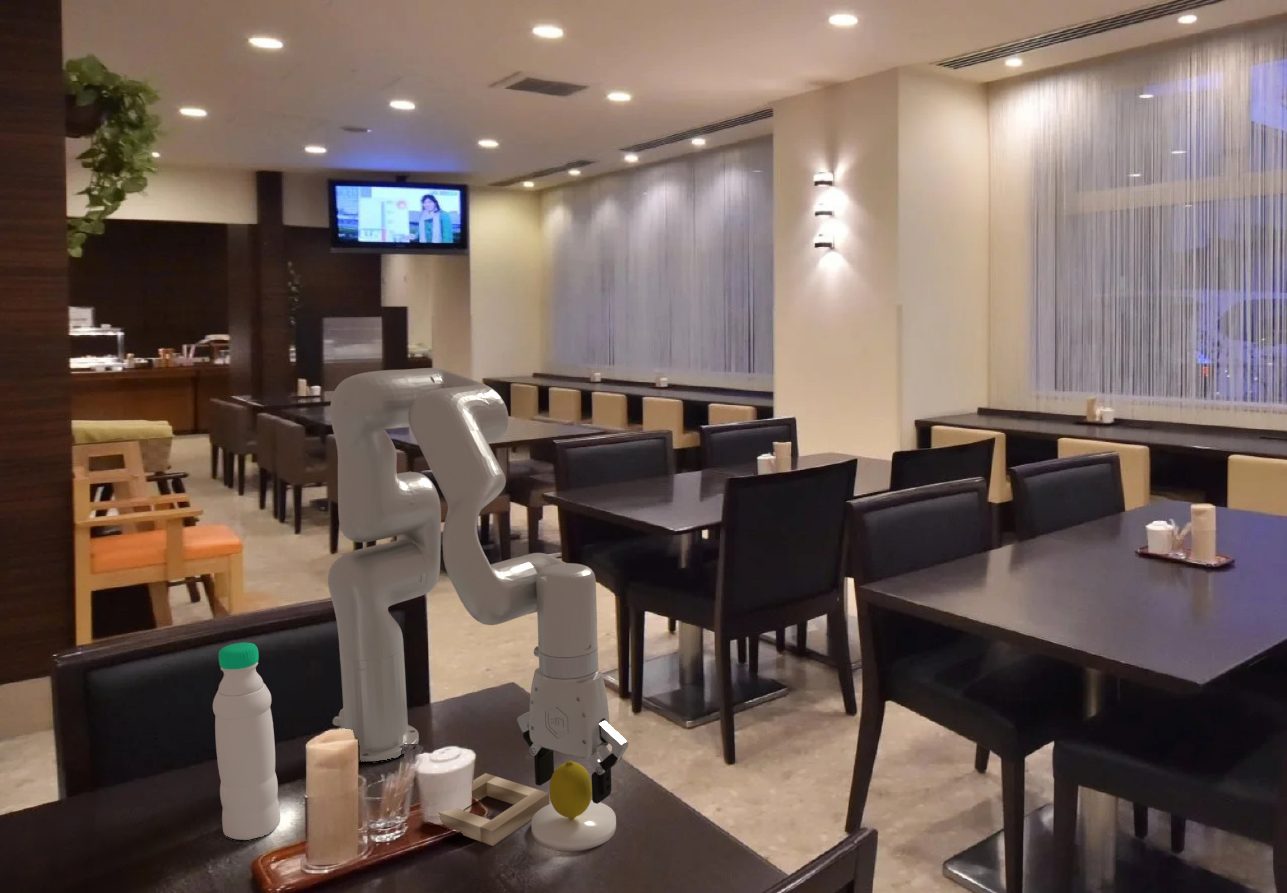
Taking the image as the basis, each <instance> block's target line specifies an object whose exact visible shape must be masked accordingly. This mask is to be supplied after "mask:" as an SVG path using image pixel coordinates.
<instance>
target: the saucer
mask: <svg viewBox="0 0 1287 893" xmlns="http://www.w3.org/2000/svg"><path fill="white" fill-rule="evenodd" d="M530 822H531V823H530V824H531V836H532V838H533V839H534V841H535V842H537V843H538V844H539V845H540V846H542V847H545V848H547V849H551V850H553V849H555V850H554V851H559V852H579V851H586V850H589V849H590V850H591V849H593V848H597V847H598V846H601V845H603V844H605V843H607V842H608V841H609V840H610V839H612V837H613V836H614V835H615V833H616V830H617V816H616V813H615V811H614V810H613V809H612V808H611V807H610V806H609V805H607V804H605V803H604V802H602V801H601V802H600V803H598V804H596V803H593V801H592V799H591V802H590V804H589V806H588V808H587V809H586V811H584V812H583V813H582V814H581V815H579V816H576V817H575V818H574V819H573V820H570V819H569V818H568V817H564V816H562V815H560V814H559V813H558V812H557V811H556V810H555V809H554V807H553V806H552V803H551V802H550V803H549V805H547V806H545V807H543V808H541V809H540V810H539V811H537V812H536V813H535V815H534V816H533V818H532V819H531V820H530Z"/></svg>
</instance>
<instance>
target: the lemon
mask: <svg viewBox="0 0 1287 893" xmlns="http://www.w3.org/2000/svg"><path fill="white" fill-rule="evenodd" d="M549 781H550V782H549V790H548V791H549V792H548V793H549V801H550V804H551V803H552V806H553V807H554V809H555V810H556V811H557V812H558V813H559V814H560V815H562V816H564V817H568V818H569V819H570V820H573V819H574V818H575V817H576V816H579V815H581V814H582V813H583V812H584V811H586V809H587V808H588V806H589V804H590V802H591V800H592V779H591V776H590V774H589V772H588V770H587V769H586V767H584V766H583V765H582V764H580V763H579V762H575V761H573V760H567V761H565V762H563V763H561V764H560V765H558V766H557V767H556V768H555V769H554V773H553V775H552V777H551V779H550V780H549Z"/></svg>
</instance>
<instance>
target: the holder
mask: <svg viewBox="0 0 1287 893" xmlns="http://www.w3.org/2000/svg"><path fill="white" fill-rule="evenodd" d="M472 781H473V784H472V797H473V799H478V800H480V801H481V800H482V799H484V798H486V797H489V798H493V799H495V800H499V801H501V802H504V803H508V804H512V806H510V807H509V808H507V809H505V810H504V811H503V812H501V813H499V814H498V815H496V816H494V817H492V818H491V819H489V818H486V817H483V816H480V815H477V814H475V813H472V812H469V811H466V810H461V809H458V808H456V809H453V810H449V811H443V812H441V811H440V812H438V813H439V815H440V816H439V817H440V820H441V822H442V823H443V824H444V825H445V826H447V827H449V828H451V829H455V830H460V831H461V833H462V834H463V835H462V836H465V837H467V838H469V839H472V840H476V841H478V842H481V843H484V844H486V845H489V846H492V847H493V846H495V845H497V844H498V843H499V842H501V841H502V840H504V839H505V838H507V837H508V836H509V835H511V834H512V833H514V832H515V831H517V830H518V829H520V828H521V827H523V826H524V825H525V824H527V823H528V822H531V821H532V818H533V816H534V815H535V813H536V812H537V811H539V810H540V809H541V808H543V807H545V806H547V805H549V804H550V792H546V791H543V790H541V789H537V788H534V787H530V786H528V785H525V784H522V783H518V782H515V781H512V780H509V779H505V778H502V777H499V776H496V775H493V774H490V773H486V772H484V773H483V774H482V775H480V776H478V777H476V778H475V779H473V780H472Z"/></svg>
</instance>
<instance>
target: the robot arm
mask: <svg viewBox="0 0 1287 893" xmlns="http://www.w3.org/2000/svg"><path fill="white" fill-rule="evenodd" d="M329 410H330V411H329V412H330V422H331V428H332V431H333V435H334V440H335V443H336V444H335V445H336V450H337V511H338V522H339V527H340V528H339V529H340V530H341V532H342V534H343V536H344V537H345V538H346V539H347V540H349V541H352V542H355V543H368V542H375V541H381V540H384V539H390V538H394V537H396V540H395V541H390V542H387V543H386V542H385V543H383V544H382V543H380V544H377V545H371V546H367V547H364V548H360V549H355V550H352V551H349V552H347V553H344V554H343V555H341V556H340V557H338V558H337V559H336V560H335V561H334V562H333V563H332V564H331V566H330V569H329V570H328V576H327V586H328V590H329V593H330V594H329V596H330V598H331V602H332V605H333V610H334V613H335V614H334V615H335V618H336V619H335V620H336V627H337V633H338V634H337V635H338V644H339V645H338V648H339V662H340V672H341V673H340V675H341V676H340V678H341V688H342V690H341V691H342V692H341V693H342V706H343V707H342V709H339V710H340V711H339V713H338V716H334V717H333V719H332V724H333V725H334V726H337V727H341V729H342V728H345V729H351V730H353V732H354V735H355V736H356V737H357V738H358V740H359V745H360V760H361V762H362V761H363V762H364V761H366V762H367V761H379V760H386V761H388V760H387V759H390V760H392V759H391V758H394V759H396V758H399V756H400V755H401V750H402V746H403V745H404V744H417V745H418V744H419V741H420V738H419V732H418V730H417V729H416V728H415V727H413V726H412V725H409V723H408V722H409V720H408V706H407V704H408V702H407V687H406V686H407V685H406V682H407V681H406V668H405V652H404V649H405V647H404V638H403V637H404V636H403V632H402V629H401V626H400V625H399V623H398V622H397V620H395V618H394V617H393V616H392V615H391V613H390V612H389V607H391V606H393V605H397V604H399V603H402V602H405V601H406V602H407V601H409V600H412V599H415V598H418V597H422V596H424V595H427V594H428V593H429V592H431V591H432V590H433V589H434V588H435V587H436V585H437V583H438V580H439V578H440V572H441V546H442V556H443V557H442V558H443V563H444V568H445V570H446V572H447V575H448V577H449V580H450V581H451V584H452V586H453V587H454V590H455V592H456V594H457V595H458V598H459V600H460V602H461V603H462V605H463V607H464V608H465V610H466V611H467V612H468V613H469V615H470V616H471V617H472V618H473V619H475V621H477V622H478V623H480V624H482V625H488V626H496V625H501V624H504V623H506V622H507V623H508V622H509V621H512V620H516V619H518V618H520V617H524V616H527V615H530V614H534V613H537V619H536V620H537V641H538V642H537V646H535V647H534V650H533V654H534V656H535V657H538V666H539V667H537V668H536V669H535V670H534V673H533V676H532V683H531V687H530V696H529V709H528V710H529V711H527V712H525V713H523V714H521V715H520V716H517V718H516V721H517V723H518V725H519V728H520V730H521V732H522V737H523V739H524V741H525V742H526V743H527V745H528V746H529V753H530V754H531V756H533V758H534V761H533V762H534V778H535V779H534V780H535V785H536V786H542V785H543V784H546V783H547V782H549V781H551V777H552V775H553V773H554V771H555V762H554V761H555V760H554V758H555V756H554V752H557V753H560V754H563V755H567V756H570V757H575V758H578V759H587V760H589V762H590V764H591V766H592V767H593V769H594V771H593V772H592V774H591V784H592V797H591V800H592V801H593V803H596V804H598V803H600V802H601V803H602V801H604V800H605V799H606V798H608V797H609V796H610V795H611V793H612V768H613V767H615V766H616V764H617V763H618V762H620V761H621V760H622V758H623V755H625V753H626V750H628V747H629V742H628V741H627V740H626V739H625V738H624V737H623V736H622V735H621V734H620V733H619V732H618V731H617V730H615V729H614V727H612V726H611V725H610V712H609V705H608V697H607V690H606V686H605V679H604V676H603V673H602V672H601V671H599V649H598V648H599V647H598V618H597V617H598V612H597V610H598V609H597V607H598V606H597V581H596V575H595V572H594V571H593V569H592V568H590V567H589V566H588V565H587V566H586V565H584V564H580V563H574V562H573V563H572V562H571V563H569V562H565V561H563V560H561V559H559V558H557V557H555V556H552V555H550V554H548V553H542V552H533V553H528V554H524V555H522V556H518V557H513V558H510V559H506V560H502V561H499V562H495V563H491V564H490V562H489V559H488V557H487V556H486V553H485V551H484V550H483V547H482V545H481V542H480V539H479V534H478V520H479V517H480V513H481V511H482V510H483V509H484V508H485V507H486V506H488V505H489V504H490V503H491V502H493V501H494V500H495V499H496V498H497V497H498V496H499V495H500V494H501V493H502V492H503V491H504V489H505V486H506V484H507V483H506V481H507V480H506V475H505V473H504V471H503V469H502V467H501V466H500V464H499V462H498V459H497V458H496V456H495V454H494V452H493V450H492V448H491V446H490V445H489V443H492V442H496V441H497V440H499V439H501V438H502V437H503V436H504V435H505V433H506V432H507V430H508V426H509V412H508V408H507V405H506V404H505V401H504V400H503V397H502V396H501V395H500V394H499V393H498V392H497V391H496V390H495V389H493V388H492V387H490V386H489V385H486V384H484V383H483V382H479V381H477V380H474V379H472V378H469V377H466V376H464V375H460V374H458V373H455V372H452V371H449V370H446V369H443V368H439V367H426V368H425V367H423V368H411V369H410V368H409V369H408V368H407V369H386V370H376V371H375V370H374V371H368V372H367V371H366V372H362V373H358V374H357V373H356V374H354V375H351V376H348V377H346V378H345V379H343V380H342V381H341V382H340V383H338V385H337V386H336V388H335V390H334V392H333V394H332V397H331V401H330V409H329ZM401 428H410V431H411V432H412V434H413V436H414V438H415V441H416V442H417V445H418V446H419V448H420V450H421V452H422V454H423V456H424V458H425V461H426V463H427V465H428V467H429V469H430V471H431V473H432V474H433V477H434V479H435V481H436V483H437V485H438V487H439V489H440V491H441V493H442V495H443V497H444V499H445V501H446V504H447V512H446V517H445V520H444V523H443V528H442V509H441V508H442V507H441V500H440V495H439V493H438V491H437V488H436V486H435V485H434V483H433V482H432V480H430V478H429V477H428V476H426V475H424V473H420V472H417V471H405V472H398V473H397V470H398V469H397V463H398V461H397V460H398V456H397V455H398V453H397V450H396V447H395V445H394V442H393V440H392V439H391V437H390V435H389V433H388V432H387V431H386V430H391V429H393V430H394V429H401ZM442 529H443V530H442ZM441 533H442V534H441ZM441 535H442V538H441ZM441 540H442V541H441ZM441 542H442V544H441ZM608 745H610V746H611V748H612V749H611V750H609V748H608ZM598 753H599V755H600V756H599V755H598ZM400 757H401V756H400ZM600 757H601V758H602V760H601V759H600Z"/></svg>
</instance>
